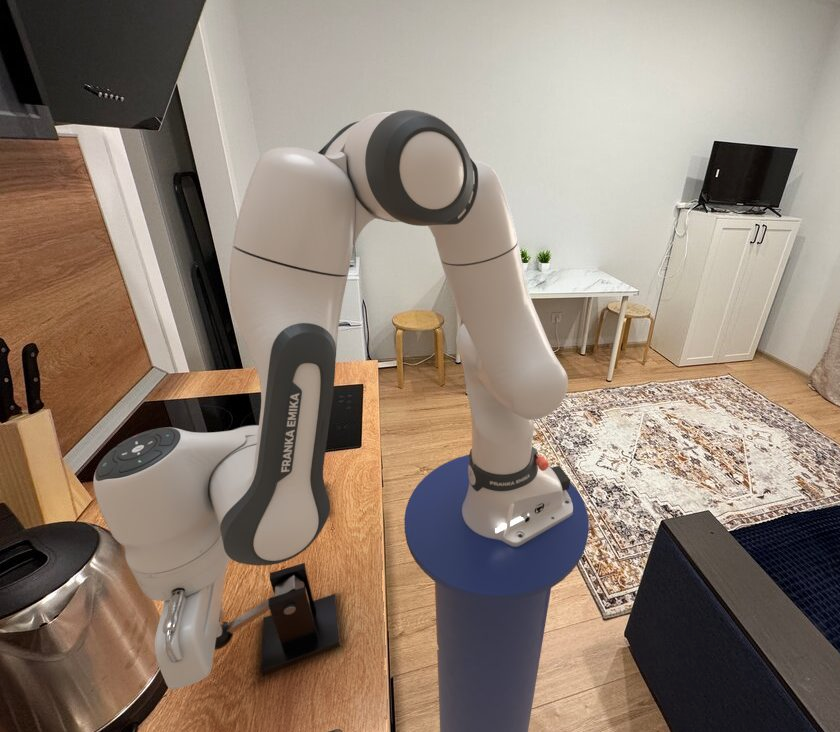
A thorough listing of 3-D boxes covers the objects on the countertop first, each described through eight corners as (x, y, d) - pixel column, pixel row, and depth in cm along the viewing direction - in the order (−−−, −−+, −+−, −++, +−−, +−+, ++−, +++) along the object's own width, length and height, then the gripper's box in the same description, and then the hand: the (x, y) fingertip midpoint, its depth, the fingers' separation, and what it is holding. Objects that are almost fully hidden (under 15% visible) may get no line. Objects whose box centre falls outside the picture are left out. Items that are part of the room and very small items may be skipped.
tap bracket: (262, 676, 57) (241, 624, 51) (265, 622, 63) (247, 570, 58) (340, 646, 61) (329, 594, 55) (335, 598, 67) (325, 547, 62)
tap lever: (214, 658, 55) (195, 650, 53) (217, 635, 57) (200, 626, 56) (306, 600, 57) (292, 590, 55) (306, 580, 60) (292, 570, 58)
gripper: (202, 629, 42) (235, 701, 48) (227, 491, 58) (249, 558, 64) (121, 656, 39) (167, 728, 45) (171, 503, 55) (200, 572, 62)
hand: (216, 627), depth 55 cm, fingers closed, pressing on tap lever
